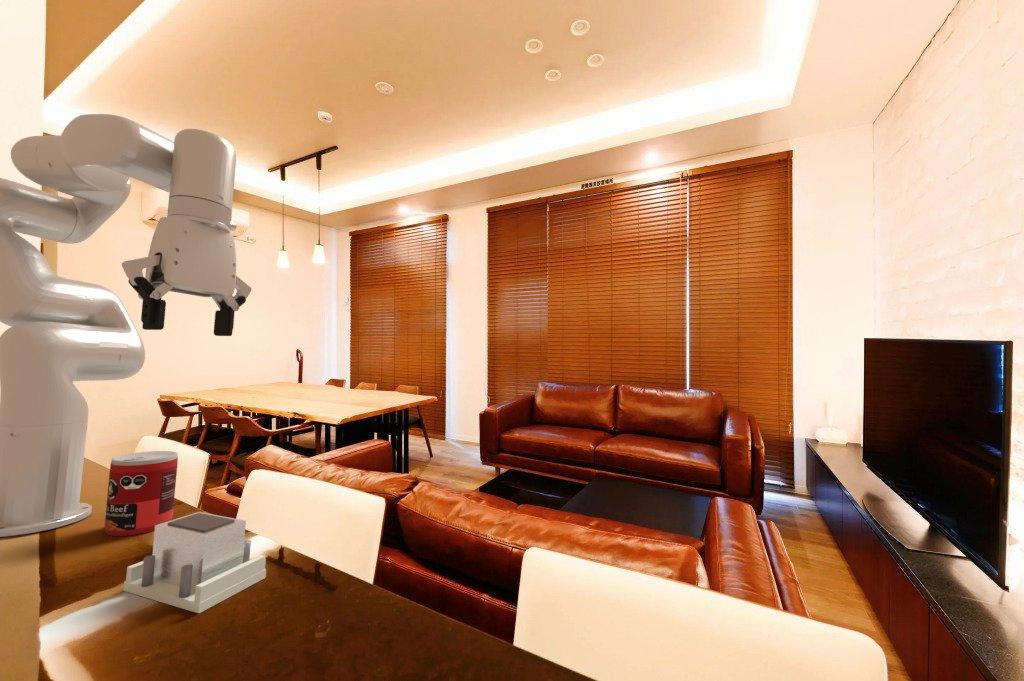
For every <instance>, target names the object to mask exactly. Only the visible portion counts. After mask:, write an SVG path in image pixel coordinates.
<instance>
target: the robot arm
mask: <svg viewBox="0 0 1024 681" xmlns="http://www.w3.org/2000/svg"><path fill="white" fill-rule="evenodd" d="M236 154H237V153H236V150H235V148H234V146H233V145H232V144H231V143H230V142H229V141H228V140H226V139H225V138H224V137H221V136H219V135H218V134H215V133H213V132H210V131H207V130H203V129H197V128H185V129H181V130H180V131H178V132H177V133H176V135H175V136H174V140H171V139H169V138H168V137H165V136H164V135H162V134H159V133H158V132H156V131H154V130H152V129H150V128H148V127H146V126H145V125H142V124H140V123H138V122H136V121H134V120H131V119H129V118H127V117H124V116H120V115H116V114H109V113H91V114H88V113H86V114H80V115H78V116H76V117H74V118H73V119H72V120H71V121H70V122H69V123H68V124H67V125H66V126H65V128H64V129H63V131H62V132H61V135H60V134H59V135H31V136H27V137H23V138H20V139H19V140H18V141H16V142H14V144H13V146H12V147H11V149H10V158H11V162H12V163H13V166H14V167H15V168H16V169H17V171H18V172H19V173H20V174H22V175H23V176H24V177H25V178H27V179H28V180H30V181H31V182H33V183H35V184H37V185H39V186H42V187H44V188H46V189H49V190H53V191H56V192H59V193H62V194H65V195H69V196H71V197H72V198H66V197H63V196H60V195H57V194H54V193H51V192H48V191H45V190H41V189H38V188H35V187H32V186H28V185H27V184H23V183H20V182H16V181H13V180H11V179H10V180H9V179H6V178H2V177H0V322H1V323H2V324H4V325H7V326H9V328H8V329H6V330H5V331H3V332H2V333H1V335H0V538H2V537H3V538H5V537H14V536H21V535H26V534H33V533H39V532H40V533H41V532H44V531H49V530H53V529H56V528H61V527H64V526H68V525H70V524H74V523H76V522H79V521H81V520H85V518H87V517H89V516H90V515H91V514H92V509H93V506H92V504H90V503H86V502H80V499H81V492H82V491H81V490H82V480H83V469H84V460H85V453H86V452H85V451H86V440H87V430H88V421H89V420H88V419H89V418H88V417H89V407H88V402H87V401H86V398H85V397H84V396H83V394H82V393H81V392H80V391H79V390H78V388H77V386H76V385H75V384H74V382H80V381H81V382H84V381H85V382H87V381H89V382H94V381H95V382H98V381H100V382H101V381H118V380H120V381H121V380H124V379H129V378H131V377H133V376H134V375H135V376H136V374H138V373H139V372H140V371H141V370H142V368H143V366H144V364H145V361H146V350H145V345H144V343H143V342H144V341H143V339H142V337H141V336H140V333H139V332H138V329H137V327H136V326H135V324H134V322H133V320H132V318H131V316H130V315H129V313H128V310H127V309H126V307H125V306H124V303H123V301H122V300H121V298H120V297H119V296H118V294H116V293H115V292H114V291H112V290H111V289H110V288H107V287H105V286H103V285H99V284H97V283H92V282H85V281H82V280H81V281H80V280H75V279H70V278H66V277H63V276H59V275H57V274H56V273H55V272H54V271H53V270H52V268H51V266H50V264H49V261H48V260H47V258H46V256H44V254H43V253H42V252H41V251H40V250H39V249H38V248H37V247H36V246H34V245H33V243H31V242H30V241H28V240H26V238H24V237H23V236H21V235H20V234H23V235H27V236H32V237H35V238H40V239H43V240H48V241H52V242H57V243H61V244H69V245H71V244H72V245H73V244H80V243H82V242H84V241H85V240H87V239H88V238H90V237H92V235H94V233H96V232H97V230H98V229H99V228H101V226H102V225H104V224H105V222H107V221H108V220H109V219H110V217H112V216H113V215H114V214H115V213H116V212H118V211H119V209H120V208H121V207H122V206H123V204H124V203H125V202H126V201H127V200H128V198H129V196H130V193H131V190H132V183H131V178H132V179H134V180H137V181H140V182H143V183H145V184H147V185H149V186H152V187H154V188H157V189H158V190H162V191H164V192H167V193H168V204H167V206H168V207H167V214H166V216H164V217H163V216H162V217H160V218H159V220H158V222H157V224H156V227H155V230H154V233H153V236H152V238H151V242H150V247H149V250H148V255H147V256H144V257H141V258H140V257H139V258H134V259H129V260H125V261H123V262H122V263H121V267H122V269H123V272H124V273H125V276H126V277H127V278H128V284H129V285H130V287H132V288H133V290H135V292H136V293H137V297H138V298H139V299H140V300H142V306H141V317H140V321H141V323H142V330H144V331H145V330H146V331H148V330H149V331H161V330H163V329H164V328H165V327H164V326H165V318H166V307H167V303H166V300H165V299H162V297H164V296H165V295H166V294H167V293H169V292H173V293H178V294H185V295H191V296H194V297H202V298H212V299H213V301H214V302H215V304H216V305H217V307H218V308H219V310H215V313H214V323H213V324H214V325H213V335H214V336H216V337H231V336H233V331H234V324H235V312H238V311H239V310H240V307H242V306H243V304H245V303H246V301H247V299H248V297H249V295H250V294H251V292H252V287H251V286H250V285H248V283H246V282H244V280H242V279H241V278H240V277H239V276H238V275H237V253H236V246H235V245H236V243H235V238H234V234H232V233H231V231H233V232H234V231H236V229H237V223H236V222H233V221H232V217H233V216H232V214H233V201H234V200H233V199H234V189H235V176H236V166H237V155H236ZM18 233H19V234H18ZM144 269H145V276H144V273H143V270H144ZM235 290H236V292H235ZM234 292H235V295H234ZM233 295H234V296H233Z"/></svg>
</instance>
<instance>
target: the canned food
mask: <svg viewBox="0 0 1024 681" xmlns="http://www.w3.org/2000/svg"><path fill="white" fill-rule="evenodd" d="M178 459H179V456H178V452H176V451H170V450H169V451H168V450H156V451H155V450H151V451H141V452H133V453H132V452H131V453H126V454H121V455H117V456H115V457H112V458H111V462H110V467H109V475H108V487H107V498H106V507H105V518H104V531H105V533H106V534H107V535H108V536H112V537H127V536H135V535H142V534H146V533H150V532H155V525H158V524H161V523H164V522H168V521H171V520H173V516H174V515H173V514H174V505H175V494H176V483H177V476H178V474H177V473H178V464H179V463H178V461H179V460H178Z"/></svg>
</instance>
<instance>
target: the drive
mask: <svg viewBox="0 0 1024 681" xmlns="http://www.w3.org/2000/svg"><path fill="white" fill-rule="evenodd" d="M246 524H247V521H246V520H244V519H239V518H234V517H230V516H229V517H228V516H224V515H223V516H222V515H217V514H212V513H208V512H203V511H197V512H193V513H191V514H190V513H189V514H187V515H184V516H182V517H178V518H175V519H171V521H168V522H164V523H161V524H158V525H155V530H154V531H153V532H154V533H153V542H152V543H153V544H152V545H153V546H152V554H151V555H155V566H154V578H153V579H154V580H157V581H161V582H165V583H168V584H172V585H176V586H179V587H180V576H181V567H183V566H185V565H193V569H192V581H191V590H194V591H195V590H196V585H198V584H200V583H203V582H205V581H207V580H209V579H211V578H213V577H215V576H217V575H219V574H222V573H224V572H226V571H228V570H230V569H232V568H234V567H236V566H239V565H241V564H243V554H244V541H245V539H246V538H245V536H246Z"/></svg>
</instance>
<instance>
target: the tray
mask: <svg viewBox="0 0 1024 681" xmlns="http://www.w3.org/2000/svg"><path fill="white" fill-rule="evenodd" d="M251 543H252V541H251V539H246V540H245V541H244V554H243V564H241V565H239V566H236V567H234V568H232V569H230V570H228V571H226V572H224V573H222V574H219V575H217V576H215V577H213V578H211V579H209V580H207V581H205V582H203V583H200V584H198V585H196V590H195V591H194V590H191V581H192V569H193V565H185V566H183V567H181V576H180V587H179V586H176V585H172V584H168V583H165V582H161V581H157V580H154V579H153V578H154V566H155V555H152V554H150V555H147V556H146V555H145V557H144V558H143V560H142V561H139V562H137V563H135V564H132V565H128V566H127V567H126V575H125V576H126V579H125V580H124V582H123V591H124V592H126V593H130V594H132V595H137V596H141V597H142V598H146V599H150V600H152V601H157V602H160V603H162V604H166V605H170V606H173V607H176V608H179V609H183V610H186V611H189V612H193V613H196V614H201V613H202V612H204V611H206V610H208V609H211V607H215V605H218V604H219V603H221V602H223V601H225V600H227V599H228V598H231V597H232V596H234V595H237V594H238V593H240V592H242V591H243V590H246V589H247V588H249V587H252V586H253V585H255V584H256V583H258V582H261V581H262V580H264V579H265V578H267V577H266V576H267V569H266V561H267V560H266V559H267V556H266V555H262V554H259V555H258V556H256V557H254V558H251V559H250V557H251V547H252V546H251V545H252V544H251Z"/></svg>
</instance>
